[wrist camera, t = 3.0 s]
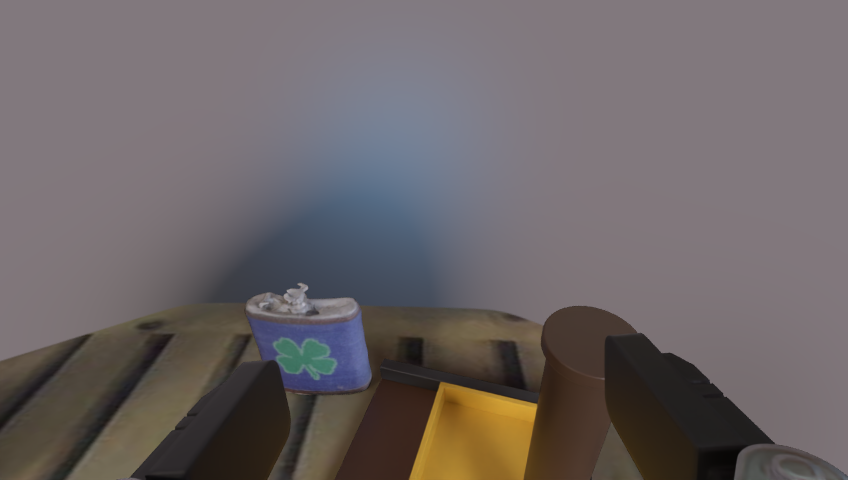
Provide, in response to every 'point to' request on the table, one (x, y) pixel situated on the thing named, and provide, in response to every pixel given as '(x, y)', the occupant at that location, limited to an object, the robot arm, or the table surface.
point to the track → (404, 420)
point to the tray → (529, 413)
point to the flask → (312, 341)
